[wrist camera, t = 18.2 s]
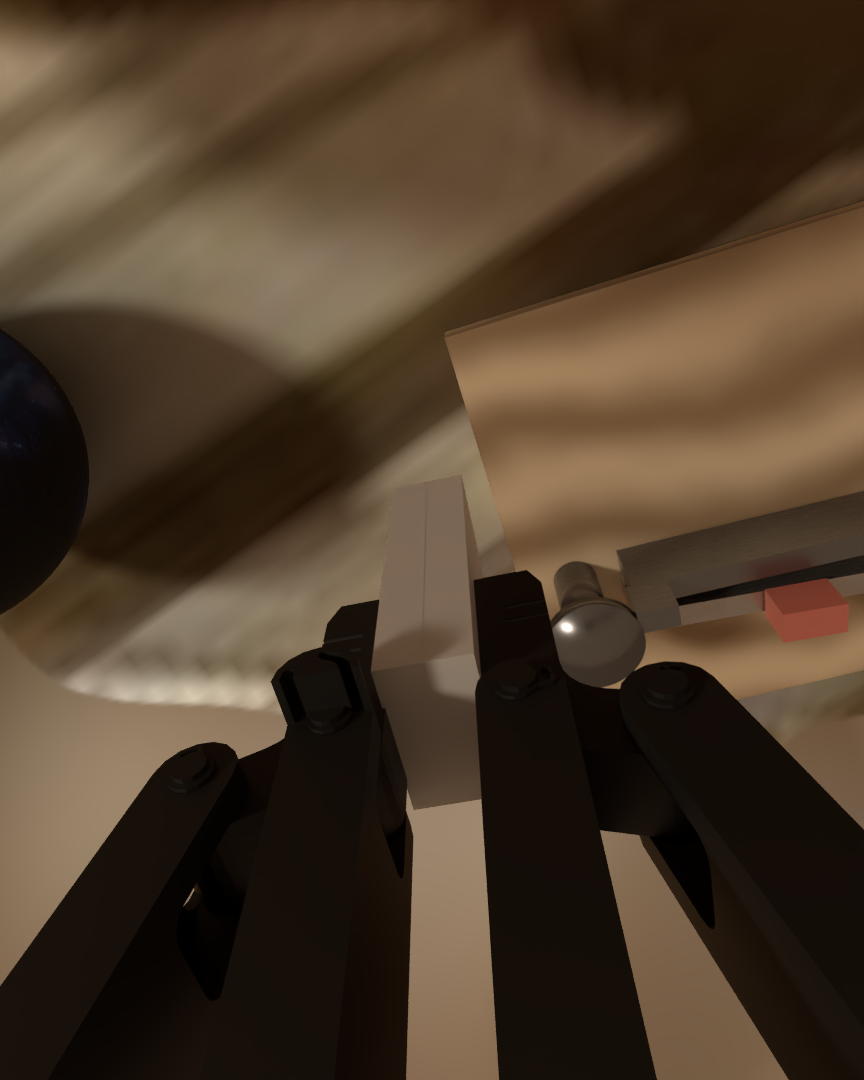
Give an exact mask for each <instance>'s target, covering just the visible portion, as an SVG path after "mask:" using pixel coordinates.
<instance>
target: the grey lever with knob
mask: <svg viewBox="0 0 864 1080" xmlns="http://www.w3.org/2000/svg"><path fill="white" fill-rule="evenodd" d="M616 552H617V557H618V562H619V567H620V571H621V573H622V575H623V578H624V580H625V583H626V585H627V587H628V588H626V592H627V597H628V602H629V607H630V608H629V607H628V606H626V605H625V604H623V603H621V602H619V601H617V600H614V599H610V598H604V597H590V598H584V599H581V600H577V601H575V602H573V603H570V604H569V605H567V606H565V607H564V608H562V609H561V610H560V611H559V612H558V613H557V614H556V615H555V616H554V617H553V618H552V620H551V621H550V622H551V626H552V630H553V635H554V639H555V643H556V648H557V652H558V656H559V661H560V664H561V666H562V668H563V670H564V671H565V672H566V673H567V674H568V675H569V676H570V677H571V678H573V679H575V680H576V681H578V682H580V683H583V684H586V685H589V686H593V687H606V686H610V685H613V684H615V683H617V682H619V681H621V680H623V679H625V678H626V677H627V676H628V675H629V674H630V673H631V672H633V671H634V670H635V669H636V668H637V667H638V665H639V664H640V662H641V660H642V659H643V656H644V653H645V649H646V638H645V634H644V633H648V632H653V631H657V630H661V629H666V628H670V627H675V626H679V625H682V622H681V616H680V610H679V604H678V602H677V600H676V598H680V597H684V596H688V595H693V594H697V593H701V592H706V591H710V590H714V589H719V588H723V587H727V586H732V585H736V584H740V583H745V582H749V581H753V580H758V579H762V578H766V577H771V576H775V575H779V574H784V573H788V572H792V571H797V570H801V569H805V568H810V567H814V566H818V565H823V564H827V563H831V562H836V561H840V560H844V559H849V558H853V557H857V556H862V555H864V491H862V492H857V493H853V494H849V495H845V496H841V497H837V498H832V499H828V500H824V501H820V502H816V503H812V504H807V505H803V506H799V507H795V508H791V509H787V510H782V511H778V512H774V513H770V514H766V515H762V516H757V517H753V518H749V519H745V520H741V521H737V522H733V523H728V524H724V525H720V526H716V527H712V528H708V529H703V530H699V531H695V532H691V533H687V534H683V535H678V536H674V537H670V538H666V539H662V540H658V541H653V542H649V543H645V544H641V545H637V546H633V547H629V548H624V549H620V550H616Z"/></svg>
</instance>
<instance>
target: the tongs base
mask: <svg viewBox="0 0 864 1080" xmlns="http://www.w3.org/2000/svg"><path fill="white" fill-rule="evenodd" d="M825 578H827V579H828V580H829V582H830V583H831V584H832V585H833V586H834V587H835V589H836V590H837V591H838V592H839V593H840V594H841V595H842V597H846V596H852V595H857V594H863V593H864V555H862V556H857V557H853V558H849V559H844V560H840V561H836V562H831V563H827V564H823V565H818V566H814V567H810V568H805V569H801V570H797V571H792V572H788V573H784V574H779V575H775V576H771V577H766V578H762V579H758V580H753V581H749V582H745V583H740V584H736V585H732V586H727V587H723V588H719V589H714V590H710V591H706V592H701V593H697V594H693V595H688V596H684V597H680V598H676V600H677V602H678V604H679V610H680V616H681V622H682V625H688V624H693V623H699V622H705V621H710V620H716V619H722V618H727V617H733V616H738V615H744V614H750V613H755V612H761V611H765V589H769V588H775V587H780V586H786V585H791V584H797V583H802V582H808V581H814V580H819V579H825ZM621 581H622V589H623V594H624V597H625V599H626V602H627V604H628V607H629V602H628V597H627V592H626V588H628V587H627V585H626V583H625V580H624V578H623V575H621ZM553 582H554V587H555V591H556V595H557V599H558V603H559V607H560V610H561V609H562V608H564V607H565V606H567V605H569V604H570V603H573V602H575V601H577V600H581V599H584V598H590V597H604V595H603V592H602V589H601V586H600V583H599V581H598V578H597V575H596V572H595V570H594V569H593V568H592V567H591V566H590V565H589V564H587V563H584V562H580V561H573V562H569V563H566V564H564V565H563V566H561V567H560V568H559V569H558V570H557V572H556V573H555V576H554V581H553ZM604 598H605V597H604ZM629 608H630V607H629ZM682 625H679V626H682ZM675 627H676V626H675ZM670 628H671V627H670Z"/></svg>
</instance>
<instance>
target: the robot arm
mask: <svg viewBox="0 0 864 1080" xmlns="http://www.w3.org/2000/svg"><path fill="white" fill-rule="evenodd" d="M271 683H272V686H273V688H274V691H275V694H276V696H277V699H278V702H279V704H280V707H281V709H282V712H283V715H284V717H285V720H286V722H287V725H288V726H287V730H286V734H285V738H284V739H282V740H281V741H280V742H278V743H276V744H274V745H272V746H270V747H268V748H266V749H263V750H261V751H258V752H256V753H253V754H251V755H248V756H246V757H243V758H241V759H238V757H237V755H236V752H235V751H234V750H233V749H231V748H230V747H229V746H228V745H227V744H222V743H216V742H210V743H203V744H197V745H195V746H192V747H190V748H187V749H184V750H182V751H180V752H178V753H177V754H175V755H174V756H172V757H171V758H169V759H168V760H166V761H165V762H164V763H163V764H162V765H161V766H160V768H158V769H157V770H156V772H155V773H154V774H153V775H152V776H151V778H150V779H149V781H148V782H147V784H146V785H145V786H144V788H143V789H142V790H141V792H140V793H139V794H138V796H137V797H136V799H135V800H134V802H133V803H132V804H131V806H130V807H129V808H128V810H127V811H126V812H125V814H124V815H123V817H122V818H121V819H120V821H119V822H118V824H117V825H116V826H115V828H114V829H113V831H112V832H111V833H110V835H109V836H108V837H107V839H106V840H105V842H104V843H103V844H102V846H101V847H100V849H99V850H98V852H97V853H96V854H95V856H94V857H93V858H92V860H91V861H90V863H89V864H88V865H87V867H86V868H85V869H84V871H83V872H82V874H81V875H80V876H79V878H78V879H77V881H76V882H75V883H74V885H73V886H72V887H71V889H70V890H69V892H68V893H67V895H66V896H65V897H64V899H63V900H62V901H61V903H60V904H59V905H58V907H57V908H56V910H55V911H54V913H53V914H52V915H51V917H50V918H49V919H48V921H47V922H46V924H45V925H44V926H43V928H42V929H41V930H40V932H39V933H38V935H37V936H36V937H35V939H34V940H33V942H32V943H31V944H30V946H29V947H28V949H27V950H26V951H25V953H24V954H23V956H22V957H21V958H20V960H19V961H18V962H17V964H16V965H15V967H14V968H13V969H12V971H11V972H10V973H9V975H8V976H7V978H6V979H5V980H4V982H3V983H2V985H1V986H0V1080H406V1062H407V1058H406V1057H407V1029H408V995H409V962H410V929H411V896H412V862H413V833H412V829H411V824H410V821H409V818H408V815H407V812H406V795H407V790H408V793H409V796H410V799H411V802H412V805H413V809H414V810H415V809H422V808H428V807H435V806H441V805H447V804H453V803H460V802H466V801H472V800H479V799H482V813H483V830H484V846H485V862H486V876H487V877H486V878H487V893H488V910H489V924H490V942H491V958H492V974H493V989H494V1005H495V1021H496V1037H497V1052H498V1067H499V1080H657V1078H656V1074H655V1069H654V1065H653V1061H652V1056H651V1052H650V1048H649V1043H648V1039H647V1034H646V1030H645V1026H644V1021H643V1017H642V1013H641V1008H640V1004H639V1000H638V995H637V991H636V986H635V982H634V978H633V973H632V969H631V964H630V960H629V956H628V951H627V947H626V943H625V938H624V934H623V929H622V926H621V921H620V917H619V913H618V908H617V903H616V899H615V895H614V890H613V886H612V881H611V877H610V873H609V869H608V864H607V860H606V855H605V851H604V846H603V842H602V838H601V833H600V830H603V831H611V832H619V833H627V834H635V835H640V838H641V841H642V844H643V846H644V848H645V849H646V851H647V853H648V854H649V856H650V857H651V859H652V861H653V862H654V864H655V865H656V867H657V869H658V870H659V872H660V874H661V875H662V877H663V878H664V880H665V882H666V883H667V885H668V886H669V888H670V890H671V891H672V893H673V894H674V896H675V898H676V899H677V901H678V902H679V904H680V906H681V907H682V909H683V910H684V912H685V914H686V915H687V917H688V919H689V920H690V922H691V923H692V925H693V926H694V928H695V930H696V931H697V933H698V935H699V936H700V938H701V939H702V941H703V943H704V944H705V946H706V947H707V949H708V951H709V952H710V954H711V955H712V957H713V959H714V960H715V962H716V964H717V965H718V967H719V968H720V970H721V971H722V973H723V975H724V976H725V978H726V980H727V981H728V983H729V984H730V986H731V987H732V989H733V991H734V992H735V994H736V996H737V997H738V999H739V1000H740V1002H741V1004H742V1005H743V1006H744V1009H745V1010H746V1012H747V1013H748V1015H749V1017H750V1018H751V1019H752V1021H753V1023H754V1024H755V1026H756V1028H757V1029H758V1031H759V1033H760V1034H761V1036H762V1037H763V1039H764V1041H765V1042H766V1044H767V1045H768V1047H769V1049H770V1050H771V1052H772V1053H773V1055H774V1057H775V1058H776V1060H777V1062H778V1063H779V1065H780V1066H781V1068H782V1070H783V1071H784V1073H785V1074H786V1076H787V1078H788V1079H789V1080H864V830H863V829H862V827H861V826H859V824H858V823H857V822H856V821H855V820H853V818H852V817H851V816H850V815H849V814H848V813H847V812H846V811H845V810H844V809H843V808H842V807H841V806H840V805H839V804H838V803H837V802H836V801H835V800H834V799H833V798H832V797H831V796H830V795H829V794H828V793H827V792H826V791H825V790H824V789H823V788H822V787H821V786H820V785H819V784H818V783H817V781H816V780H814V778H813V777H812V776H811V775H810V774H809V773H807V771H806V770H805V769H804V768H803V767H802V766H801V765H800V764H799V763H798V762H797V761H796V760H795V759H794V758H793V757H792V756H791V755H790V754H789V753H788V752H787V751H786V750H785V749H784V748H783V747H782V746H781V745H780V744H779V743H778V742H777V741H776V740H775V739H774V737H773V736H772V735H771V734H770V733H769V732H768V731H767V730H766V729H765V728H764V727H763V726H762V725H761V724H760V723H759V722H758V721H757V720H756V719H755V718H754V717H753V716H752V715H751V714H750V713H749V712H748V711H747V710H746V709H745V708H744V707H743V706H742V705H741V704H740V703H739V702H738V701H737V700H736V699H735V698H734V697H733V696H732V695H731V694H730V692H729V691H728V690H727V689H726V688H725V687H724V686H723V685H722V684H721V683H720V682H719V681H718V680H717V679H716V678H715V677H714V676H713V675H711V674H710V673H708V672H707V671H705V670H704V669H702V668H701V667H698V666H695V665H691V664H688V663H684V662H668V661H663V662H658V663H653V664H648V665H645V666H643V667H641V668H639V669H637V670H635V671H633V672H631V673H630V674H629V675H628V676H627V677H626V678H625V680H624V681H623V682H622V683H621V687H620V689H612V688H601V687H593V686H589V685H586V684H583V683H580V682H578V681H576V680H575V679H573V678H571V677H570V676H569V675H568V674H567V673H566V672H565V671H564V670H563V668H562V666H561V664H560V661H559V656H558V652H557V648H556V643H555V639H554V635H553V630H552V626H551V622H550V617H549V613H548V609H547V604H546V600H545V596H544V591H543V587H542V583H541V581H540V580H538V579H537V578H536V577H535V576H534V575H532V574H531V573H530V572H529V571H528V570H524V571H518V572H513V573H508V574H502V575H497V576H492V577H486V578H484V576H483V572H482V567H481V562H480V558H479V553H478V549H477V544H476V540H475V535H474V531H473V526H472V521H471V517H470V512H469V508H468V503H467V499H466V494H465V490H464V485H463V480H462V476H461V475H459V476H454V477H449V478H444V479H439V480H434V481H429V482H424V483H419V484H414V485H409V486H404V487H399V488H394V489H393V494H392V502H391V510H390V518H389V527H388V535H387V543H386V551H385V559H384V568H383V576H382V584H381V592H380V600H374V601H369V602H364V603H358V604H353V605H348V606H342V607H341V608H340V609H339V610H338V611H337V613H336V614H335V615H334V616H333V617H332V619H331V620H330V621H329V622H328V624H327V628H326V632H325V637H324V644H323V646H322V647H320V648H317V649H313V650H310V651H307V652H303V653H302V654H300V655H298V656H296V657H294V658H292V659H290V660H289V661H287V662H286V663H285V664H284V665H283V666H282V667H281V668H279V669H278V670H277V672H276V673H275V675H274V677H273V679H272V680H271ZM193 888H194V889H195V890H194V892H193V894H192V896H191V898H190V899H189V901H188V902H187V903H186V904H185V902H186V900H187V899H188V897H189V895H190V893H191V892H192V890H193ZM184 904H185V905H184ZM183 906H184V907H183Z"/></svg>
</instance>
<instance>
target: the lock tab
mask: <svg viewBox="0 0 864 1080" xmlns="http://www.w3.org/2000/svg"><path fill="white" fill-rule="evenodd" d="M765 613H766V617H767V619H768V620H769V622H770V623H771V625H772V626H773V628H774V629H775V631H776V632H777V634H778V635H779V636H780V638H781V639H782V641H783V642H784V643H786V642H792V641H798V640H803V639H809V638H815V637H821V636H827V635H832V634H838V633H844V632H848V613H849V603H848V602H847V601H846V600H845V599H844V598H843V597H842V595H841V594H840V593H839V592H838V591H837V590H836V589H835V587H834V586H833V585H832V584H831V583H830V582H829V580H828V579H827V578H825V579H819V580H814V581H808V582H802V583H797V584H791V585H786V586H780V587H775V588H769V589H765Z"/></svg>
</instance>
